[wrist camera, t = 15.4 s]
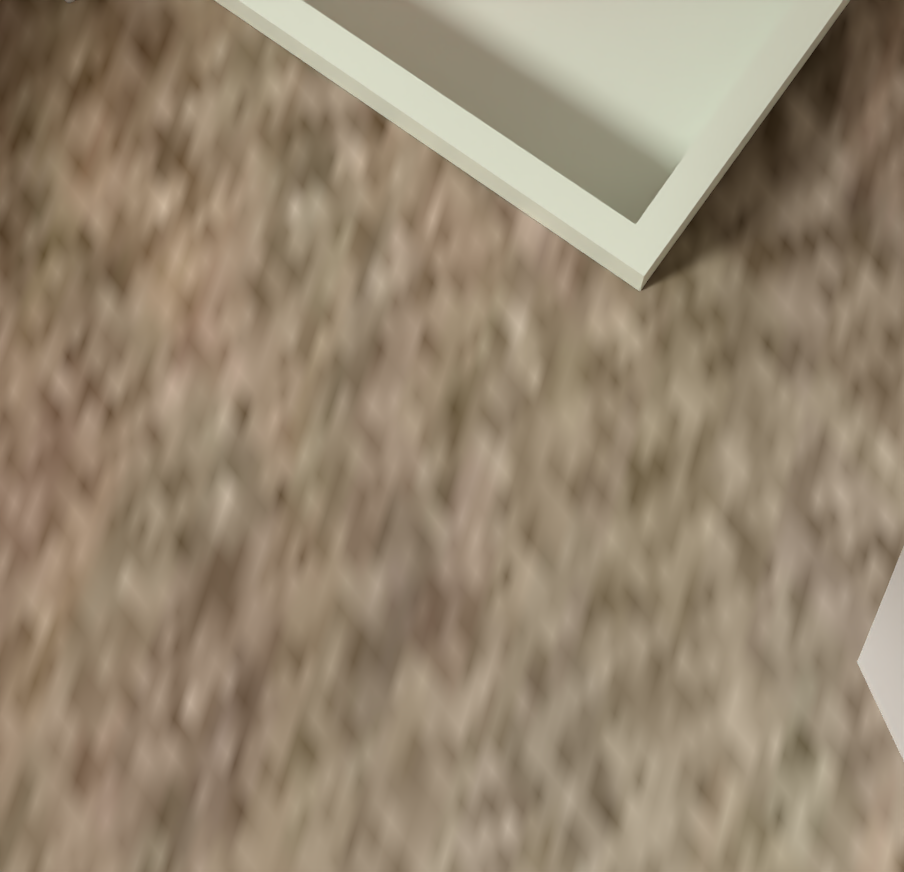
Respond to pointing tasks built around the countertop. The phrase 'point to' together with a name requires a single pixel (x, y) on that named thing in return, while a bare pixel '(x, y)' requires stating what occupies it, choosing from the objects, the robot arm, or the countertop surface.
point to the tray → (568, 97)
